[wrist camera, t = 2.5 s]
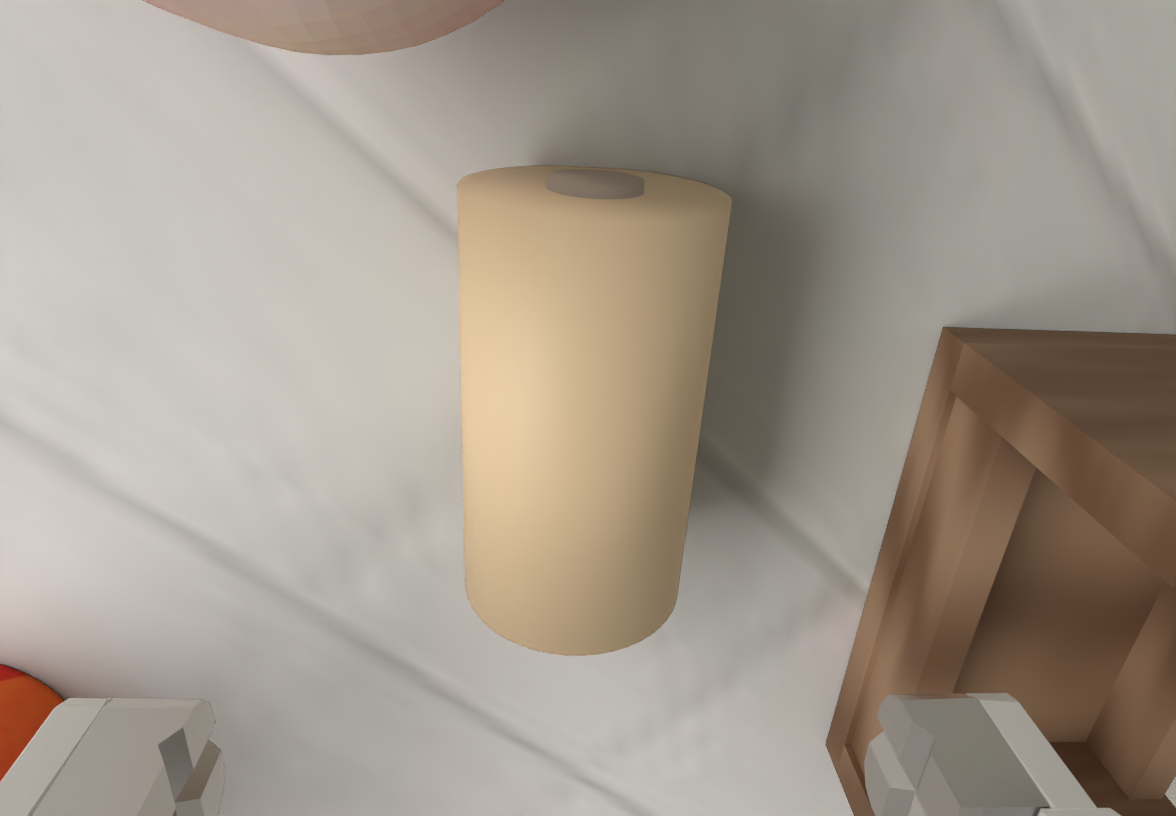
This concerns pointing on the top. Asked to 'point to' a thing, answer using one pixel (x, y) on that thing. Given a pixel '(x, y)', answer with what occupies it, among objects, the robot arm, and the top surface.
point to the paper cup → (21, 712)
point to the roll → (582, 395)
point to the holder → (1034, 556)
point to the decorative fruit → (332, 21)
